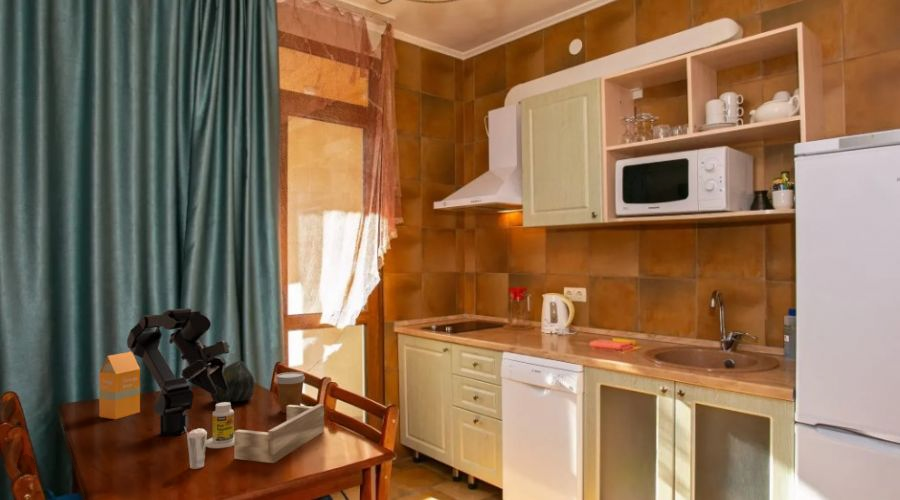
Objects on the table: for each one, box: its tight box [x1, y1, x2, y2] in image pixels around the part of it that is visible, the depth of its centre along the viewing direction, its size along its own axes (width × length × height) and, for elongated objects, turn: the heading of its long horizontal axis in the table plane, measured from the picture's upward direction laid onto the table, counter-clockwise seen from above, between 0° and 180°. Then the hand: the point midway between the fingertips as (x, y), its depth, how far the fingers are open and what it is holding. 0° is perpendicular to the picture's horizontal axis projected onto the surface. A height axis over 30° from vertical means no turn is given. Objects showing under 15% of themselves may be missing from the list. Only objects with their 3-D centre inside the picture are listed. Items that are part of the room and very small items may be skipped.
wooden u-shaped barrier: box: [233, 403, 325, 464], centre depth 152 cm, size 12×26×8 cm, turn 164°
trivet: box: [205, 437, 234, 449], centre depth 154 cm, size 10×10×1 cm
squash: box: [210, 360, 256, 404], centre depth 196 cm, size 14×15×15 cm
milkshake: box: [184, 427, 208, 470], centre depth 136 cm, size 4×5×10 cm
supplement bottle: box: [211, 402, 235, 443], centre depth 154 cm, size 6×6×10 cm
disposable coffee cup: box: [275, 371, 306, 414], centre depth 184 cm, size 10×10×12 cm
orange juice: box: [98, 350, 141, 420], centre depth 181 cm, size 8×9×20 cm
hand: (221, 392), depth 156 cm, fingers open, 9 cm apart
